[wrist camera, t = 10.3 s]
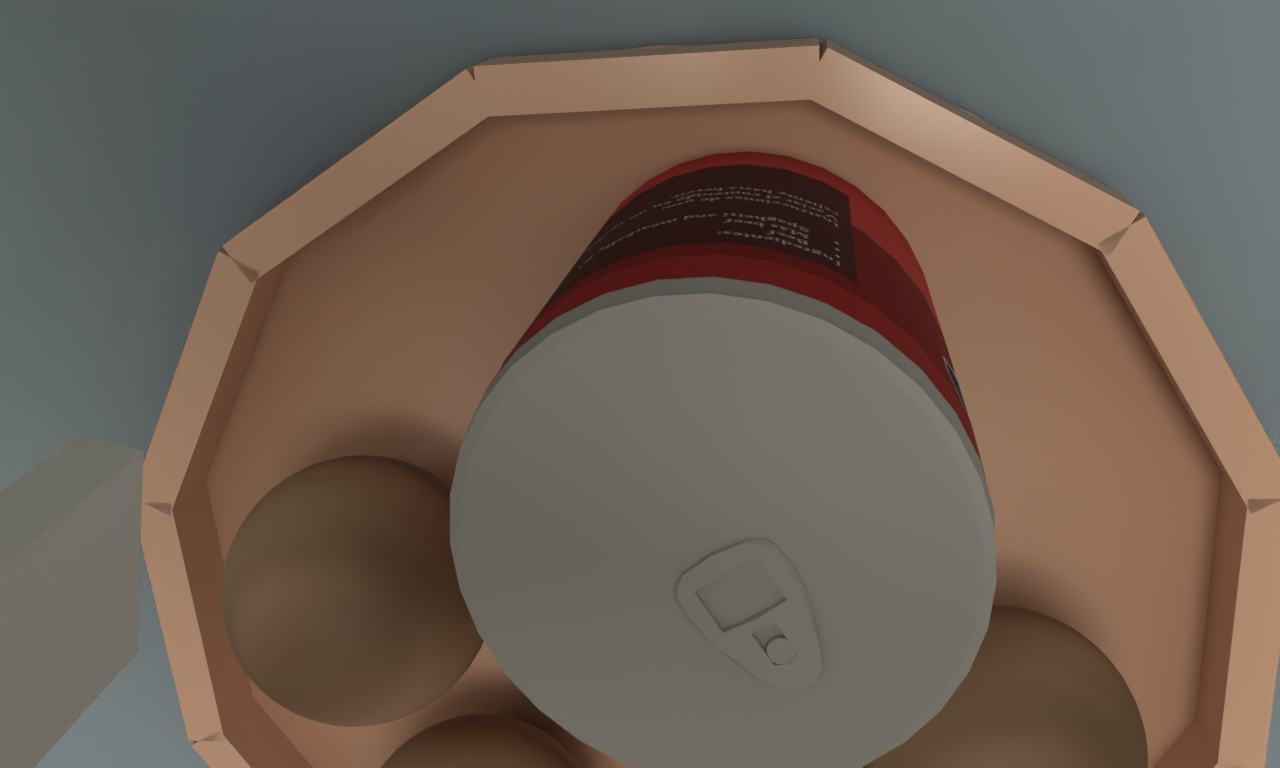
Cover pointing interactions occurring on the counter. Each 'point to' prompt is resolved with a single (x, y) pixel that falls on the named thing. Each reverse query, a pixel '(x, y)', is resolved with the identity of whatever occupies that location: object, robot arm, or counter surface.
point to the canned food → (731, 483)
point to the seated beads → (449, 641)
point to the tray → (556, 238)
